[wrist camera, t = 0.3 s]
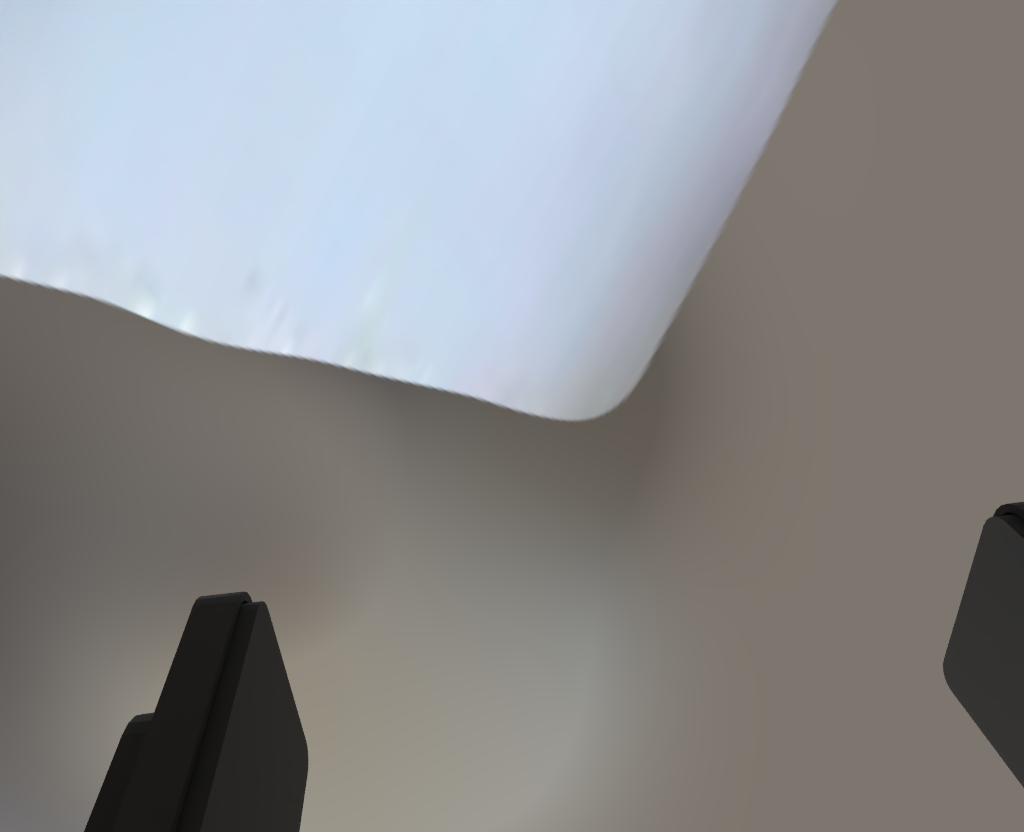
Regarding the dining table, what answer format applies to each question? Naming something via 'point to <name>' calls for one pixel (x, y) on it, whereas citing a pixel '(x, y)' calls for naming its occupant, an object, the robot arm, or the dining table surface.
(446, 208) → the dining table surface
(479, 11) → the dining table surface
